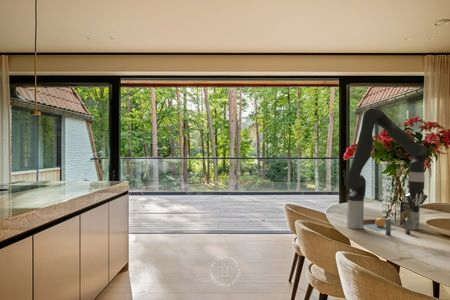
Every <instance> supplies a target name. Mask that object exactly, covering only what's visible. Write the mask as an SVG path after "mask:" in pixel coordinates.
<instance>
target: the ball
mask: <svg viewBox="0 0 450 300" xmlns="http://www.w3.org/2000/svg"><path fill="white" fill-rule="evenodd" d="M375 219H376V220H375V224H376V226H378V227H384V226H386V219H384V218H383V217H377V218H375Z"/></svg>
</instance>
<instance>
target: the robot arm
mask: <svg viewBox="0 0 450 300" xmlns="http://www.w3.org/2000/svg"><path fill="white" fill-rule="evenodd" d="M375 125H377V126H379V127H381V128H382V129H383V130H384V131H385V132H386V133H387V134H388V135H389V137H390V138H391V139H392V140H394V141H395V142H396V143H397V144H398V145H399V146H401V147H402V149H404V151H405V152H406V153H407V154H408V155H410V156H411V157H412V158H411V159H412V160H411V161H410V162H409V167H408V180H407V181H408V183H407V185H408V186H407V188H408V192H407V194H405V195H404V198H405V199H406V201H408V203H409V204H412V205H413V208H412V210H413V212H415V213H418V212H419V205H420V206H421V205H423V204H424V202H425V201H426V200H427V198H428V195H427V194H425V192H424V190H425V183H426V182H425V177H426V176H425V162H426V161H427V160H426V159H427V154H428V150H427V149H428V148H427V146H426V145H424V143H418V142H415V140H413V137H412V136H411V135H410V134H408V133H407V132H406V131H404V130H403V129H402V128H401V127H399V126H398V125H397V124H396V123H395V122H393V120H392V119H390V118H389V116H388V115H387V114H386V113H384V111H383V110H382V109H379V108H375V107H368V108H366V110H365V111H364V113H363V116H362V121H361V126H360V132H359V135H358V140H357V144H356V147H355V150H354V156H353V158H352V161H351V165H350V168H349V171H348V173H347V175H346V177H345V178H346V179H345V185H346V188H347V189H349V190H351V191H350V193H349V194H348V195H347V213H346V214H347V215H346V226H347V227H348V228H350V229H353V230H361V229H362V230H363V229H364V226H363V225H364V224H363V223H364V216H365V214H364V211H365V203H364V201H365V196H366V189H367V188H366V187H367V186H366V184H367V183H366V179H365V178H366V177H364V175H362V174H361V173H362V170H363V169H364V167H365V166H366V164H367V163H368V161H369V160H370V158H371V155H372V152H373V149H374V139H373V138H374V137H373V133H374V129H375Z"/></svg>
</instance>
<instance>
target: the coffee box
mask: <svg viewBox="0 0 450 300" xmlns="http://www.w3.org/2000/svg"><path fill="white" fill-rule="evenodd" d="M399 208H400V209H399V210H400V211H399V212H400V214H399V215H400V216H399V219H400V220H399V221H400V223H399V227H400V226H402V228H404V227H405V224H406V218H410V219H411V230H413V231H414V230H420V216H421V215H420V211H421V209H420V208H421V205H419V212H418V213H415V212H413V210H412V208H413V205H412V204H409V203H408V201H407V200H405V201H403V200H402V201H400V206H399Z"/></svg>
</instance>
